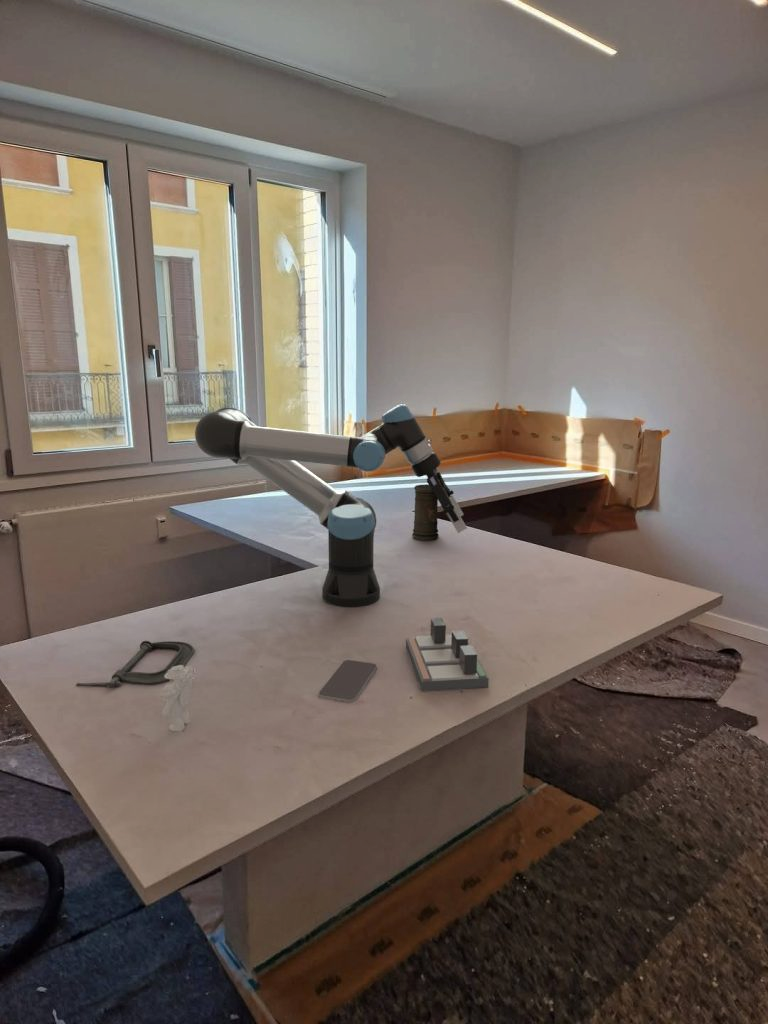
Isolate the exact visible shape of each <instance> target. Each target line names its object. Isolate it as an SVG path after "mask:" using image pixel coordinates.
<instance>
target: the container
mask: <svg viewBox="0 0 768 1024" xmlns="http://www.w3.org/2000/svg"><path fill="white" fill-rule="evenodd" d="M414 495H415V497H414V519H413V529H412V534H411V535H412V538H413V539H415V540H418V541H424V540H426V541H427V540H429V541H435V540H437V539H439V533H438V532H439V529H438V506H439V505H438V502H439V500H438V498H437V497H436V495H435V493H434V492H433V490H432V488H431V486H430V485H429V484H428V483H427V484H417V485H415V486H414Z"/></svg>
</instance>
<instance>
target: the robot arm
mask: <svg viewBox="0 0 768 1024" xmlns="http://www.w3.org/2000/svg"><path fill="white" fill-rule="evenodd" d="M381 419H382V423H381V424H380V425H378V426H377V427H375V428H373V429H371V430H370V431H369V432H366V433H364V434H363V435H361V436H360V437H357V436H348V435H338V434H329V433H321V432H319V433H318V432H313V431H312V432H311V431H301V430H293V429H285V428H284V429H283V428H275V427H265V426H264V427H263V426H257V425H256V424H255V423H253V420H252V419H251V418H250V416H249V415H248V414H247V412H244V411H243V410H242V409H238V408H236V407H223V408H220V409H218V410H215V411H213V412H209V413H207V414H205V415H204V416H203V417H201V419H199V421H198V422H197V423H196V426H195V430H194V437H195V441H196V444H197V446H198V448H199V449H200V450H201V451H202V452H203V453H204V454H206V455H207V456H210V457H213V458H217V459H229V460H230V461H232V462H233V463H235V464H236V465H237V466H240V465H247V466H248V467H250V468H251V469H253V470H254V471H255V472H257V473H258V474H260V475H261V476H262V477H264V478H265V479H266V480H268V481H269V482H270V483H272V484H273V485H275V486H276V487H277V488H279V489H280V490H282V491H283V492H285V493H286V494H287V495H289V496H291V497H292V498H293V499H294V500H296V501H297V502H298V503H300V504H302V505H303V506H304V507H305V508H307V509H308V510H310V511H311V512H312V513H314V514H315V515H317V516H318V520H319V524H320V525H321V526H323V527H324V528H326V529H327V531H328V532H327V533H328V536H327V537H328V539H327V540H328V570H327V573H326V576H325V579H324V582H323V585H322V591H321V593H322V595H321V597H322V599H323V601H325V602H326V603H328V604H331V605H334V606H338V607H352V608H353V607H362V606H368V605H370V604H373V603H376V602H377V601H378V600H379V599H380V598H381V588H380V584H379V582H378V577H377V574H376V572H375V568H374V545H375V543H374V541H375V540H374V537H375V532H376V531H375V529H376V527H377V516H376V515H377V514H376V512H375V510H374V508H373V506H372V505H371V504H370V503H369V502H368V501H367V500H365V499H364V498H360V497H355V496H354V495H352V494H351V493H350V492H349V491H347V490H346V489H340V490H339V489H338V490H336V489H335V488H334V487H333V486H331V485H329V484H328V483H327V482H325V481H324V480H323V479H321V478H320V477H319V476H317V475H315V474H314V473H313V472H312V471H310V470H309V469H307V468H306V467H305V466H304V465H302V464H301V463H299V462H302V463H310V464H311V463H313V464H323V465H333V466H343V467H349V468H350V467H351V468H358V469H359V470H361V471H364V472H368V473H369V472H374V471H377V470H378V469H379V468H380V467H381V466H382V465H383V463H384V461H385V458H386V455H387V454H389V453H391V452H392V451H393V450H396V449H397V448H399V449H400V450H401V453H402V455H403V457H404V458H405V459H406V461H407V463H408V464H410V465H411V470H412V471H413V473H414V474H415V476H416V477H417V478H421V477H424V476H426V477H427V478H426V482H427V484H428V485H430V486H431V488H432V490H433V492H434V493H435V495H436V497H437V498H438V502H439V504H440V506H441V508H442V514H443V515H446V516H447V517H448V518H449V521H450V522H451V523H452V525H453V527H454V528H455V530H456V532H457V534H459V533H461V532H463V531H466V529H468V527H467V525H466V523H465V521H464V520H463V518H462V517H463V516H464V512H463V511H462V509H461V508H460V506H459V504H458V501H456V499H455V497H454V494H455V493H454V491H453V490H452V489H450V488H449V487H448V485H447V484H446V483H445V480H444V478H443V476H442V474H441V472H440V471H438V470H437V469H438V468H439V466H440V465H441V463H442V462H441V460H440V458H439V457H438V456H437V453H436V452H435V451H434V449H433V448H432V445H431V443H432V441H431V440H430V439H427V437H426V435H425V434H424V432H423V430H422V428H421V427H420V425H419V423H418V422H417V419H416V418H415V416H414V415H413V413H412V412H411V410H410V408H409V407H408V405H407V404H405V403H400V404H398V405H395V406H394V407H392V408H391V409H389V410H388V411H386V412H385V413H383V414H382V416H381Z"/></svg>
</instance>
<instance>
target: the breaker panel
mask: <svg viewBox="0 0 768 1024" xmlns="http://www.w3.org/2000/svg"><path fill="white" fill-rule="evenodd" d="M451 642H452V634H446V636H445V643H434V642H433V640H432V637H431V635H417V636H415V637H411V638H409V637H408V638H406V639H405V648H406V651H407V654H408V656H409V659H410V661H411V662H410V663H411V665H412V667H413V671H414V674H415V676H416V679H417V681H418V685H419V688H420V690H421V692H428V691H429V692H430V691H431V692H432V691H446V690H447V691H448V690H449V691H450V690H463V689H464V690H465V689H483V688H489V676H488V675H487V673H486V672H485V669H484V668H483V666H482V663H480V661H479V659H478V658H477V671H476V674H464V673H463V671H462V669H461V667H460V665H459V658H460V657H458V658H456V657H455V655H454V653H453V651H452V649H451ZM468 645H470V643H469V642H468Z"/></svg>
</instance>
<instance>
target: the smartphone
mask: <svg viewBox="0 0 768 1024" xmlns="http://www.w3.org/2000/svg"><path fill="white" fill-rule="evenodd" d="M377 670H378V665H377V664H376V663H373V662H367V661H360V660H352V659H345V660H343V661H342V662H341V663H340V665H339V666H338V667H337V669H336V670H335V671H334V672H333V674H332V675H331V676H330V678H329V679H328V680H327V681H326V683H324V685H323V686H322V687H321V689H320V690H319V691H318V697H319V698H322V699H328V700H336V701H339V702H344V703H354V702H355V701H356V700H357V699H358V698H359V696H360V694H361V693H362V691H363V690H364V689H365V688H366V686H367V684H368V683H369V681H370V680H371V678H372V677H373V676H374V674H375V672H376V671H377Z"/></svg>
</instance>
